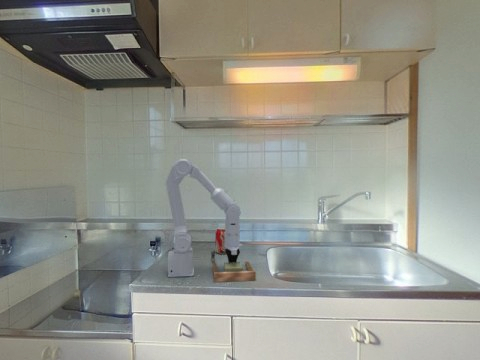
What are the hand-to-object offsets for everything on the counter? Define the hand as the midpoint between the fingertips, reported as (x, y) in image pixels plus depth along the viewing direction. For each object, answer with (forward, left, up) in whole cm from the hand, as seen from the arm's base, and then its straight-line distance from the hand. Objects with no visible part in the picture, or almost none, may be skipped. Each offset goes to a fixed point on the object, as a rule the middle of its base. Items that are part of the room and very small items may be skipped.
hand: (232, 267), depth 123 cm
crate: (0, -5, -1) cm, 5 cm away
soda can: (-2, +27, -2) cm, 27 cm away
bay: (0, -1, -1) cm, 2 cm away
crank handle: (-7, +15, -1) cm, 17 cm away
